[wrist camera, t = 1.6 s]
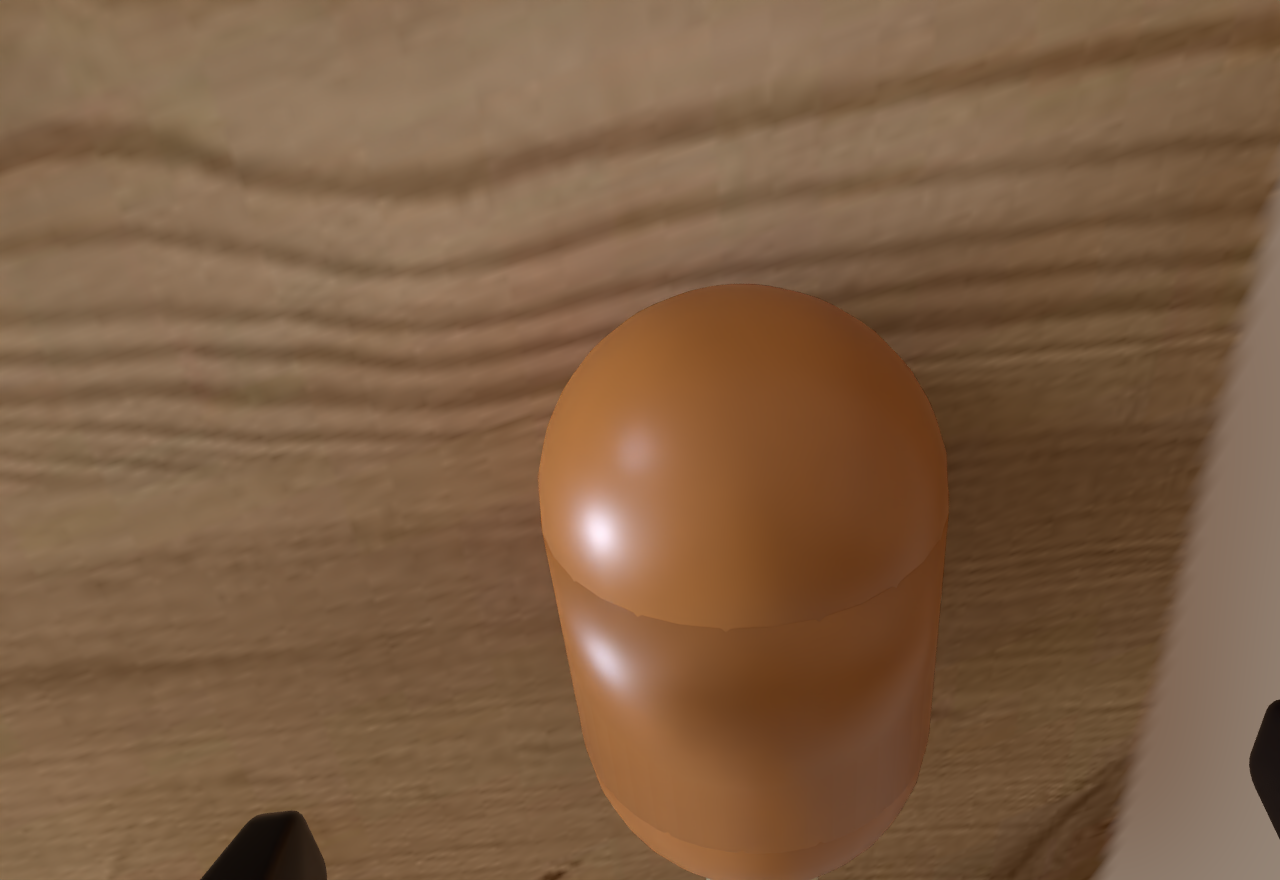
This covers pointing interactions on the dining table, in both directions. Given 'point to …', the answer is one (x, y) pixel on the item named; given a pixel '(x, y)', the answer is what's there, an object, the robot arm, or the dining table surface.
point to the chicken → (748, 577)
